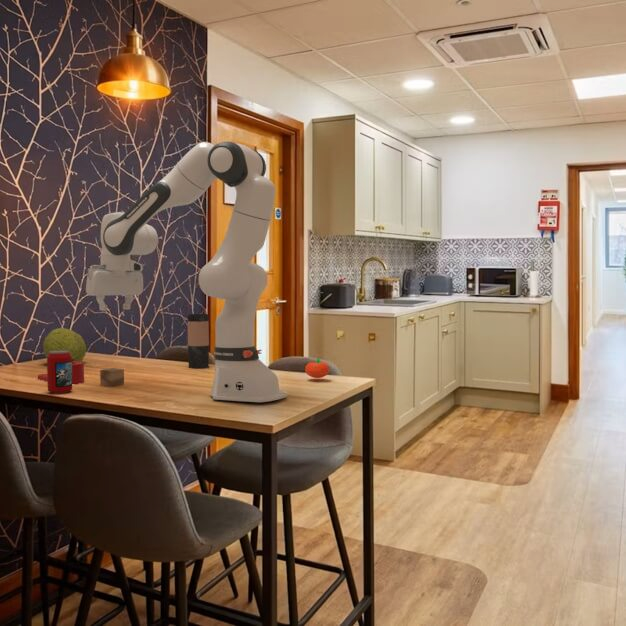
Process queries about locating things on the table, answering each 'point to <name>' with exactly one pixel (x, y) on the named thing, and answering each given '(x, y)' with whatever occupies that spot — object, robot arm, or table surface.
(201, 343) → the travel mug
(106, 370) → the walnut cube
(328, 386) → the table surface
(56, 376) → the beverage can
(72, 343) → the fruit
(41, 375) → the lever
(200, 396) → the table surface
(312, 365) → the red tomato
